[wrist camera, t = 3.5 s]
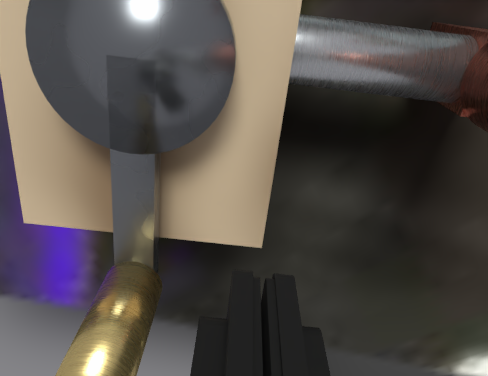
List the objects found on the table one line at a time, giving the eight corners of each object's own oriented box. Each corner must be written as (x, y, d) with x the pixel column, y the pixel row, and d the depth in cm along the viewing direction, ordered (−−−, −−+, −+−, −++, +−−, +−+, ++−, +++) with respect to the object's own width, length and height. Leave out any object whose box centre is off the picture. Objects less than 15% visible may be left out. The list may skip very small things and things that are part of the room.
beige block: (298, -129, 15) (339, -230, 8) (258, 158, 21) (261, 247, 14) (90, -158, 15) (-57, -289, 8) (103, 140, 20) (24, 222, 13)
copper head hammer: (508, 21, 17) (892, 71, 7) (476, 103, 19) (749, 244, 8) (67, -36, 16) (-240, -74, 6) (74, 55, 18) (-161, 143, 8)
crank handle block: (246, -46, 9) (241, -74, 5) (212, 292, 14) (194, 433, 10) (33, -74, 9) (-170, -130, 5) (70, 278, 14) (-17, 414, 9)
